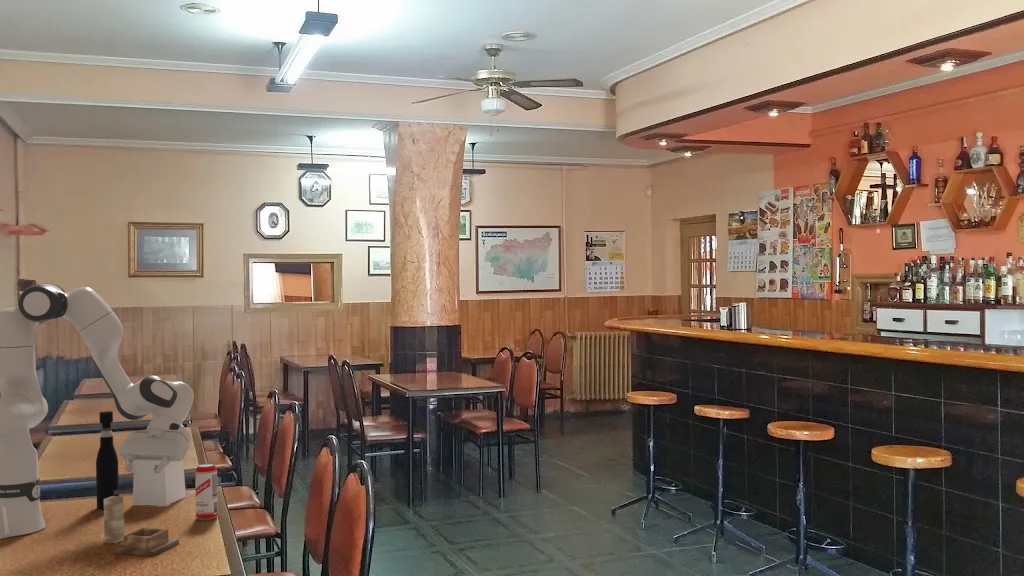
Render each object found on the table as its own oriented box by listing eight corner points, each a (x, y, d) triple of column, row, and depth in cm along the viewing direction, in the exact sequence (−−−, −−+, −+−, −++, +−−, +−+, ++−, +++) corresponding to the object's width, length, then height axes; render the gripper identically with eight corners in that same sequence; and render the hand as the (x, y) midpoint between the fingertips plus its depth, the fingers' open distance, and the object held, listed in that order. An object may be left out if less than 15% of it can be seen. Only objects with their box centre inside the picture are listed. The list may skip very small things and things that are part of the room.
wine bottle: (98, 505, 287) (96, 411, 287) (120, 503, 289) (118, 410, 289) (95, 510, 281) (93, 414, 281) (117, 508, 283) (116, 413, 283)
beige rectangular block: (104, 543, 247) (103, 499, 246) (113, 539, 250) (112, 496, 250) (115, 543, 246) (114, 499, 246) (124, 540, 249) (123, 496, 249)
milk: (166, 506, 286) (164, 424, 285) (132, 505, 287) (131, 423, 287) (185, 497, 297) (184, 418, 297) (153, 496, 299) (151, 417, 299)
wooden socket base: (113, 553, 237) (112, 537, 237) (140, 541, 248) (139, 525, 248) (153, 556, 234) (153, 540, 234) (178, 543, 245) (178, 528, 245)
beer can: (211, 521, 267) (210, 467, 267) (191, 520, 268) (190, 466, 268) (222, 515, 273) (221, 463, 273) (203, 515, 274) (202, 462, 274)
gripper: (127, 424, 269) (105, 463, 260) (187, 426, 264) (168, 466, 255) (137, 436, 274) (116, 475, 264) (197, 438, 269) (177, 478, 259)
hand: (142, 471), depth 260 cm, fingers open, 8 cm apart
